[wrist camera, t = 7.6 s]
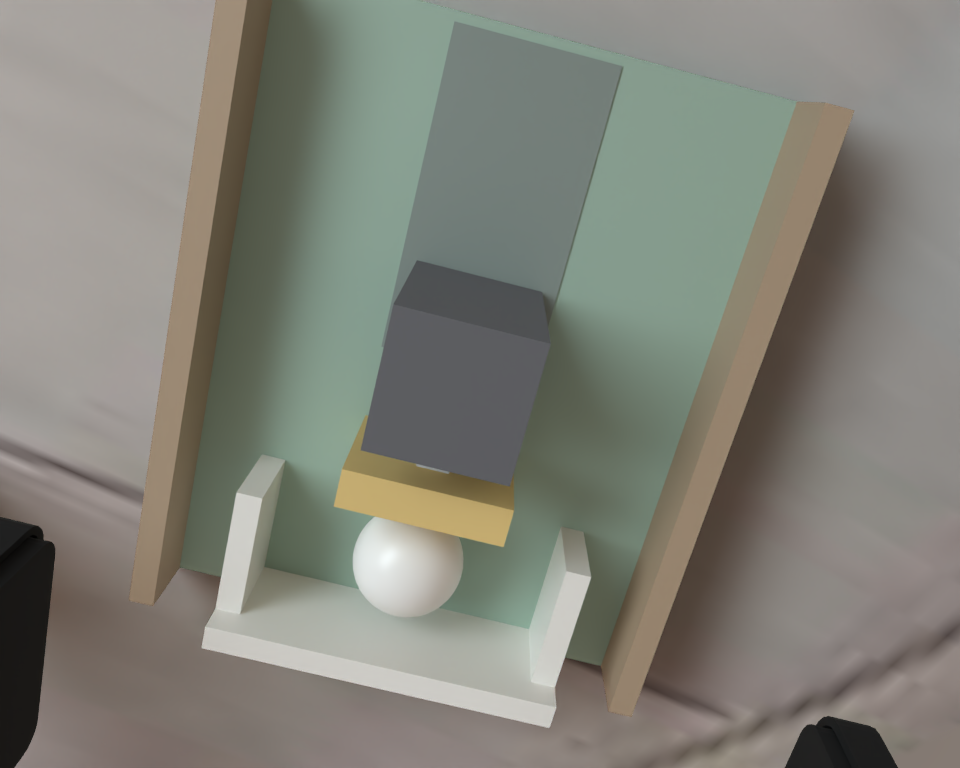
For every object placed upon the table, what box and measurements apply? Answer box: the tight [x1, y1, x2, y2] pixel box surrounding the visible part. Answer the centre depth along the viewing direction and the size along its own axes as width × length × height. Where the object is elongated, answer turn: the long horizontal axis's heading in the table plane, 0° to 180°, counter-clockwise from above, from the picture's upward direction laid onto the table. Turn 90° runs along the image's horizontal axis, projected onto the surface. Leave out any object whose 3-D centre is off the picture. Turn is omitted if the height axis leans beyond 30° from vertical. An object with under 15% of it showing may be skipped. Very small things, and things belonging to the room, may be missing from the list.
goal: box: [202, 454, 591, 728], centre depth 29 cm, size 11×5×4 cm, turn 76°
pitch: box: [129, 0, 854, 717], centre depth 28 cm, size 17×20×3 cm
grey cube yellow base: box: [334, 260, 551, 547], centre depth 26 cm, size 5×7×6 cm
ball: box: [353, 517, 464, 618], centre depth 29 cm, size 4×4×4 cm
